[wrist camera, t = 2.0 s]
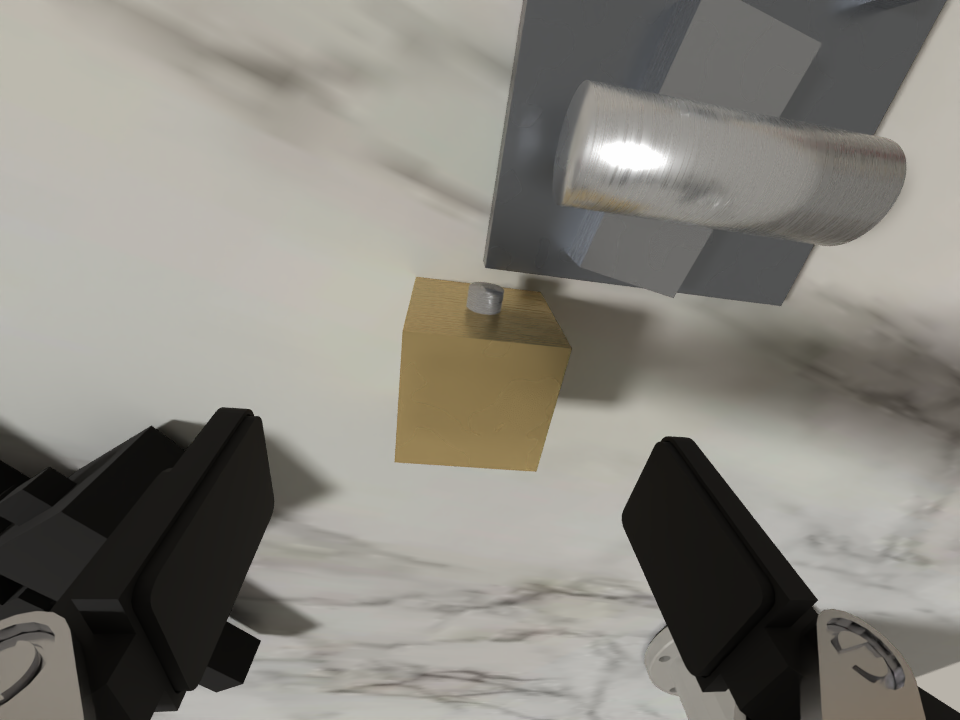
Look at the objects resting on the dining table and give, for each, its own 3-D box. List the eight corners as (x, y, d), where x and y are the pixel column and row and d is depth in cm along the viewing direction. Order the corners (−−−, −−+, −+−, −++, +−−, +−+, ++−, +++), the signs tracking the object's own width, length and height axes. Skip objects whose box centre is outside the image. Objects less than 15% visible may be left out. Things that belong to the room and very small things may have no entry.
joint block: (544, 274, 16) (578, 327, 12) (513, 405, 19) (532, 485, 15) (417, 258, 15) (404, 308, 11) (407, 396, 19) (393, 476, 14)
